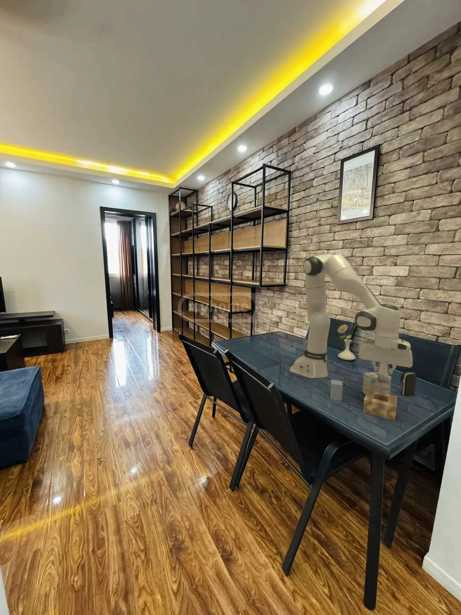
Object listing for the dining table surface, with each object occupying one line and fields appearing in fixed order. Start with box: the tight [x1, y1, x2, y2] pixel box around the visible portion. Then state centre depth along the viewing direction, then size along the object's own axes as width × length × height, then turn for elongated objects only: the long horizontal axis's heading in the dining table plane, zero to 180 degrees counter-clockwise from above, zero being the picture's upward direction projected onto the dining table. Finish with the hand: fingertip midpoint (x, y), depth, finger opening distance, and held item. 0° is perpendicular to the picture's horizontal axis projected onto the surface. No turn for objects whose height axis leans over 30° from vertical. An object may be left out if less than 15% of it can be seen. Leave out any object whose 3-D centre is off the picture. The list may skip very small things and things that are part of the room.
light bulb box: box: [362, 371, 392, 395], centre depth 129 cm, size 11×7×11 cm, turn 92°
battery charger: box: [399, 371, 418, 397], centre depth 130 cm, size 7×4×11 cm, turn 105°
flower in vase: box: [336, 324, 356, 361], centre depth 181 cm, size 13×11×25 cm
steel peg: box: [377, 361, 390, 384], centre depth 113 cm, size 4×4×10 cm
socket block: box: [362, 389, 398, 421], centre depth 115 cm, size 12×12×6 cm
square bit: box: [329, 379, 344, 402], centre depth 126 cm, size 5×5×8 cm
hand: (383, 372), depth 113 cm, fingers closed on steel peg, 4 cm apart
